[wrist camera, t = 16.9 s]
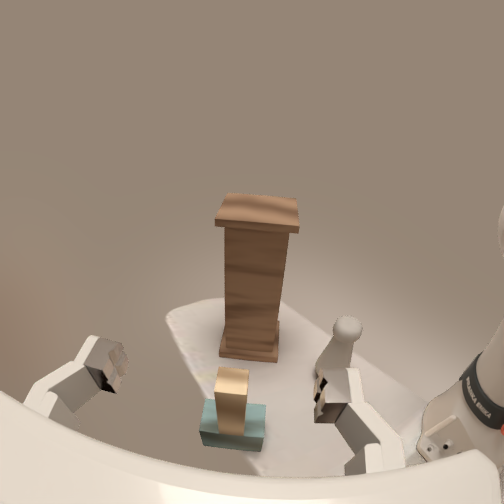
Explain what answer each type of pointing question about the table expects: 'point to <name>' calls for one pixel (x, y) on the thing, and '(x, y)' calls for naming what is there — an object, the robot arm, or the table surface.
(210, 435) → the mallet
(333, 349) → the salt shaker
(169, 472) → the robot arm
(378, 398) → the table surface
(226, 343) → the pedestal
